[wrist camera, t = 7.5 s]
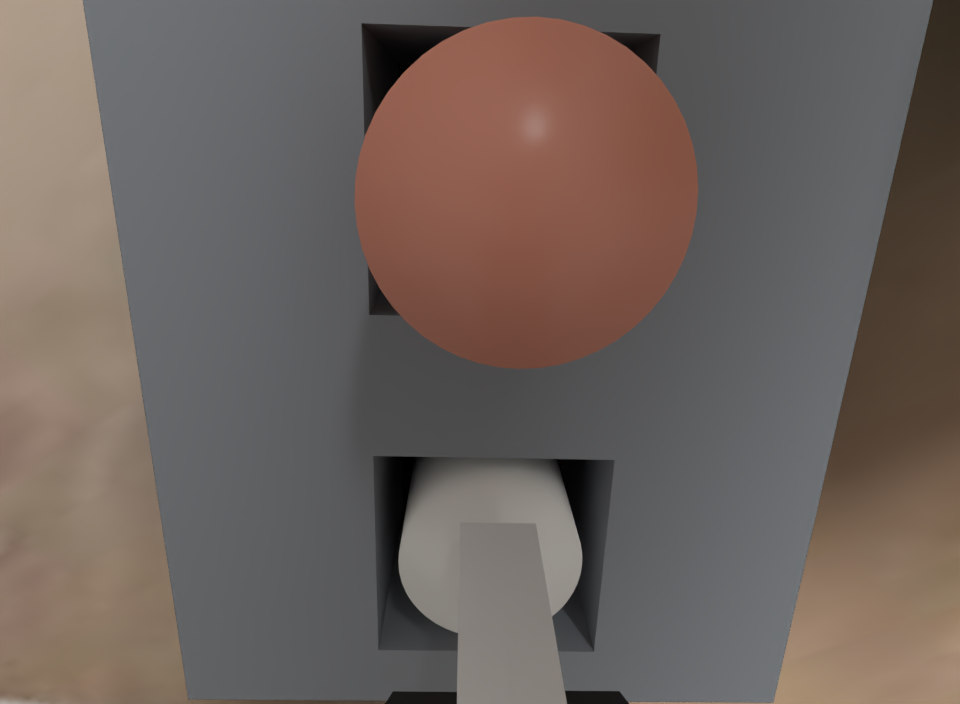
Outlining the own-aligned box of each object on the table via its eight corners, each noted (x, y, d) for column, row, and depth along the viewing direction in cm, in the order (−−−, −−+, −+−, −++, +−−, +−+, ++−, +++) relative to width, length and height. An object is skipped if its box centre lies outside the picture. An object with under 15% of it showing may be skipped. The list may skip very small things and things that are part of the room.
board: (172, -449, 13) (-53, -902, 7) (842, -412, 13) (1118, -813, 8) (264, 544, 21) (188, 699, 15) (690, 550, 21) (773, 702, 15)
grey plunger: (416, 383, 18) (397, 480, 13) (555, 386, 18) (589, 484, 13) (417, 504, 20) (399, 636, 14) (546, 506, 20) (575, 638, 15)
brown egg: (400, 65, 12) (348, 9, 7) (611, 72, 12) (721, 23, 7) (401, 275, 13) (359, 366, 8) (593, 280, 13) (675, 372, 8)
